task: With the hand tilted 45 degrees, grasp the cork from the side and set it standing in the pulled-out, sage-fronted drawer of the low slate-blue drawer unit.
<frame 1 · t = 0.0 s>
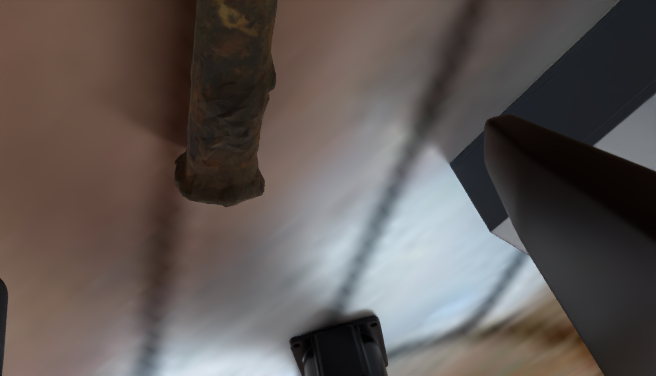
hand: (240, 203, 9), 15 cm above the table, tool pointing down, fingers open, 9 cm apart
cabinet: (594, 131, 30), on the table
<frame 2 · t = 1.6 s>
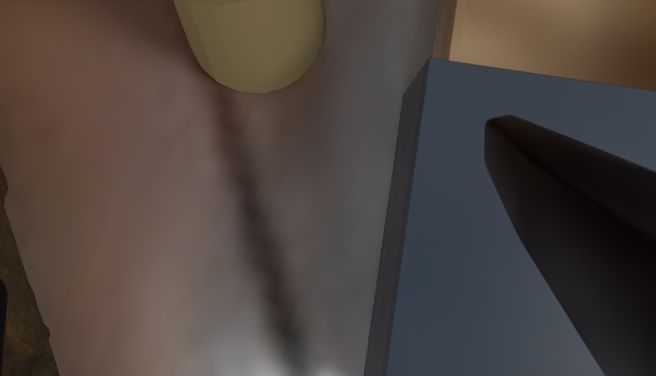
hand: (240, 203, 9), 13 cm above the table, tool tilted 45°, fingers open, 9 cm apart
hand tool: (3, 291, 22), on the table
cork: (257, 26, 23), on the table
cabinet: (516, 257, 22), on the table
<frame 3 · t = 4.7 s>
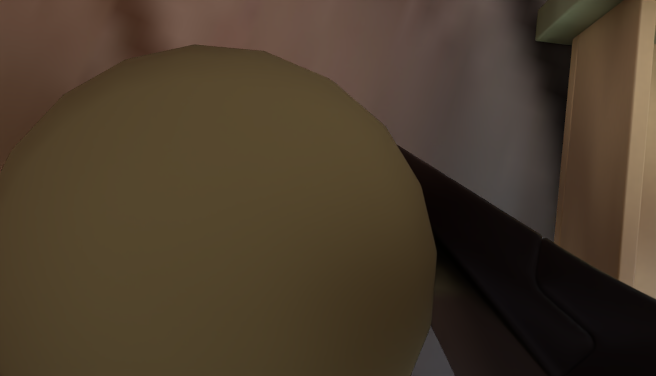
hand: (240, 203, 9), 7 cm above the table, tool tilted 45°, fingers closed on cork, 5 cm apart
cork: (284, 242, 16), on the table, touching gripper
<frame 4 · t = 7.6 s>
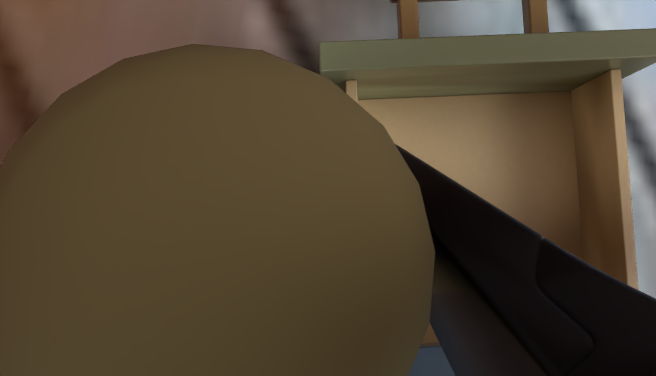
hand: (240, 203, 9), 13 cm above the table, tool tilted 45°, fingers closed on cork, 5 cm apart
cork: (283, 241, 16), point 6 cm above the table, touching gripper
drawer: (478, 180, 20), point 3 cm above the table, slide at 9.0 cm
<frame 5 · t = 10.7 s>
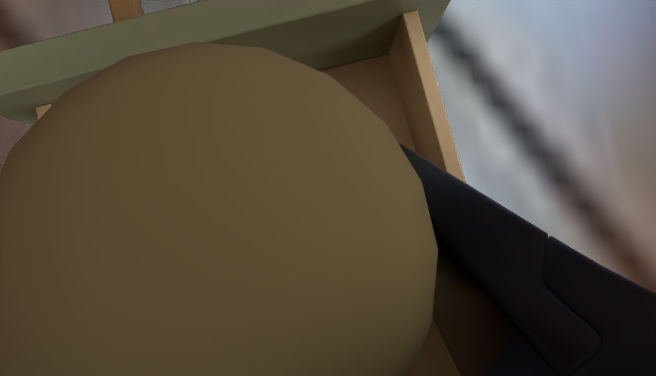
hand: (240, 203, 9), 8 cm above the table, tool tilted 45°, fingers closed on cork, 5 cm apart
cork: (284, 242, 16), point 1 cm above the table, touching drawer, gripper
drawer: (269, 203, 14), point 3 cm above the table, slide at 9.2 cm, touching cork
when the fingers open (8 cm above the table, at t = 10.7 s): cork stays where it is, resting on drawer.
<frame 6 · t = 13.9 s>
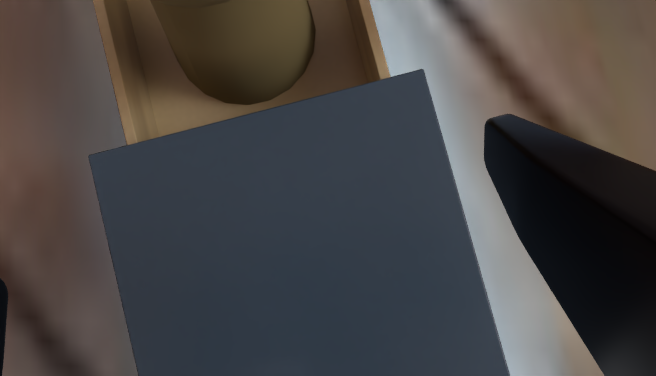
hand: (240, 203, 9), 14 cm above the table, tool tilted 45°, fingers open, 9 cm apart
cork: (245, 36, 22), point 1 cm above the table, touching drawer
cabinet: (309, 279, 22), on the table
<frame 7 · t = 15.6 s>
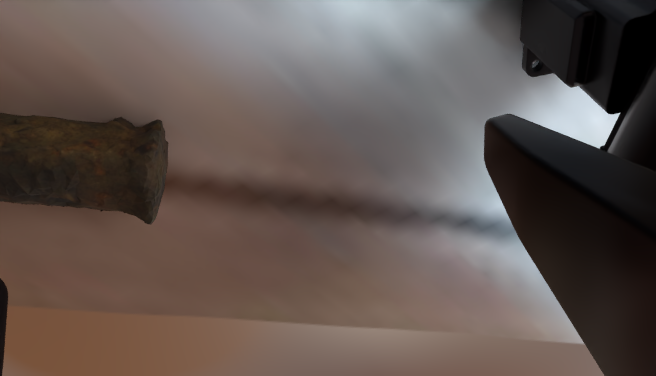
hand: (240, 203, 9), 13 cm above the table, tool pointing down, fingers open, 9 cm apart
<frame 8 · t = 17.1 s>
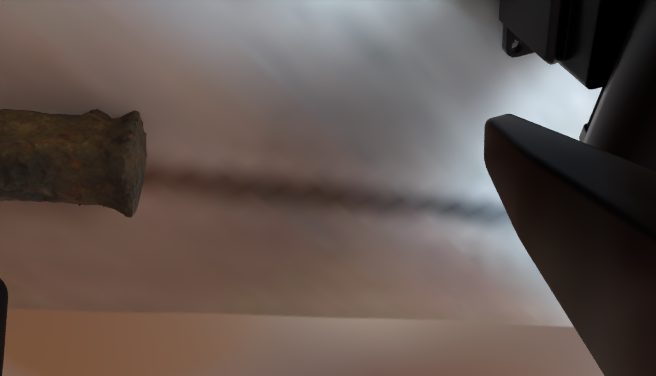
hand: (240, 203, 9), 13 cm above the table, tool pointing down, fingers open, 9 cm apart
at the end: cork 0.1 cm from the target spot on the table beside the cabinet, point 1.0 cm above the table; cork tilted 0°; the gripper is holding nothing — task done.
